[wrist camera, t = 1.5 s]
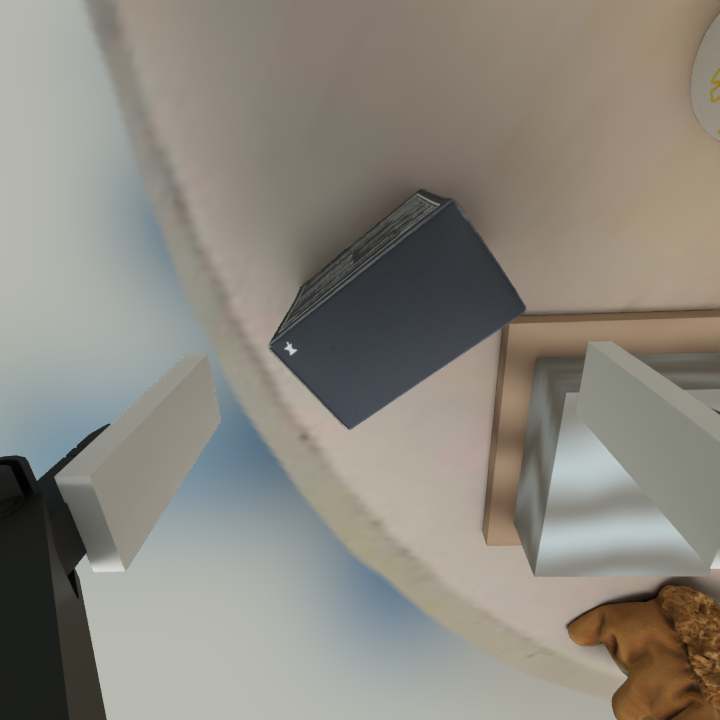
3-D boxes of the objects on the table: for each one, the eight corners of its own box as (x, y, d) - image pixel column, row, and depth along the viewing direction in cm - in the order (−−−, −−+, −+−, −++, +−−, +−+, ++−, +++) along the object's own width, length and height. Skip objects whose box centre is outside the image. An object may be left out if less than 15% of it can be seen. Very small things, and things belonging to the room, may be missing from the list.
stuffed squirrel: (557, 628, 42) (629, 810, 30) (678, 549, 37) (822, 728, 25) (622, 668, 44) (713, 852, 32) (744, 598, 39) (906, 785, 27)
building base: (503, 316, 29) (536, 353, 23) (744, 308, 28) (843, 344, 22) (482, 531, 37) (502, 599, 31) (669, 530, 36) (726, 600, 30)
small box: (356, 357, 31) (347, 440, 21) (296, 288, 29) (257, 346, 19) (480, 267, 28) (535, 316, 18) (423, 184, 26) (450, 190, 16)
